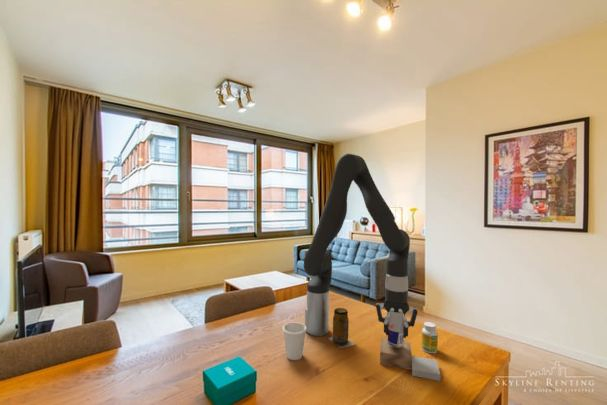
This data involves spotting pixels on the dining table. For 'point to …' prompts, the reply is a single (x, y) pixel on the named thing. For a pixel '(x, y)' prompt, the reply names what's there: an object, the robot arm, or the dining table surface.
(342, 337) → the condiment
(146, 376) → the dining table surface
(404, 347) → the walnut base
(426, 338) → the supplement bottle
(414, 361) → the slate coaster
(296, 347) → the dixie cup
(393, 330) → the energy drink
